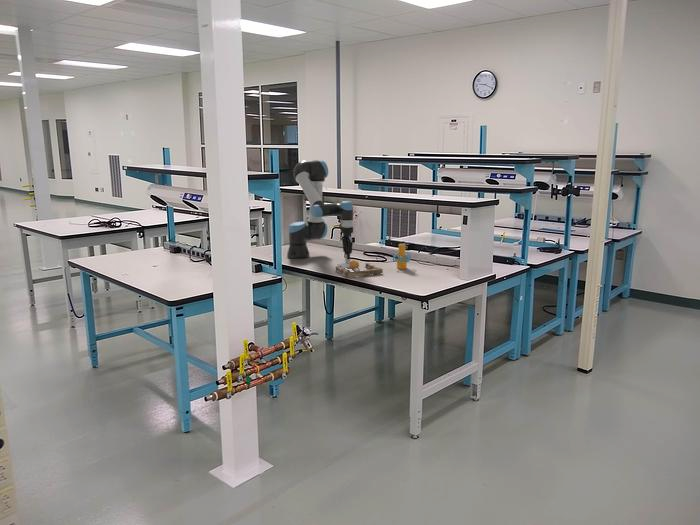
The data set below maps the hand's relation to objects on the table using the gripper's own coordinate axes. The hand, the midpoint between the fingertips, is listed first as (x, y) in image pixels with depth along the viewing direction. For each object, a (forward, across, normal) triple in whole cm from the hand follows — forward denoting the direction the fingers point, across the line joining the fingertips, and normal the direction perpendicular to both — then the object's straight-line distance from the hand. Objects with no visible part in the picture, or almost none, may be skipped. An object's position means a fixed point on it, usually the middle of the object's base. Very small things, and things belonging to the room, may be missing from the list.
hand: (347, 263), depth 329 cm
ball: (-1, +10, 0) cm, 10 cm away
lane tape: (+2, +6, 0) cm, 6 cm away
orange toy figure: (+2, +19, +28) cm, 34 cm away
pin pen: (+2, +16, 0) cm, 16 cm away
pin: (+1, +14, -1) cm, 14 cm away
